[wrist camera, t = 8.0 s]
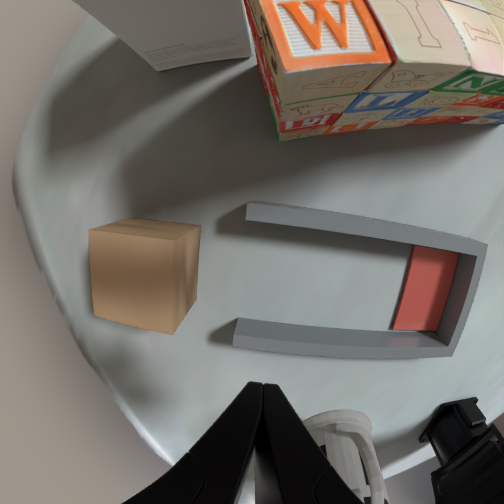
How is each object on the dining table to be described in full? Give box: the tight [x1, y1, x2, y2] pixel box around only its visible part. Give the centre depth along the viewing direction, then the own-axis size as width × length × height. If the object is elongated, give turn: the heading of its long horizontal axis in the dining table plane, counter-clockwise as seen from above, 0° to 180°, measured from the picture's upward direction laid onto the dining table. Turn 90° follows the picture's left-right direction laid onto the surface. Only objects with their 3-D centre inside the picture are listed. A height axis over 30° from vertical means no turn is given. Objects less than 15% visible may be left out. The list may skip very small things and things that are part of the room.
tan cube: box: [89, 218, 201, 335], centre depth 17 cm, size 6×6×6 cm
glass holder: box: [303, 410, 390, 504], centre depth 15 cm, size 9×14×15 cm, turn 4°
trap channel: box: [232, 201, 488, 359], centre depth 18 cm, size 10×18×2 cm, turn 84°
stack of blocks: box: [243, 0, 504, 141], centre depth 9 cm, size 21×6×12 cm, turn 103°
